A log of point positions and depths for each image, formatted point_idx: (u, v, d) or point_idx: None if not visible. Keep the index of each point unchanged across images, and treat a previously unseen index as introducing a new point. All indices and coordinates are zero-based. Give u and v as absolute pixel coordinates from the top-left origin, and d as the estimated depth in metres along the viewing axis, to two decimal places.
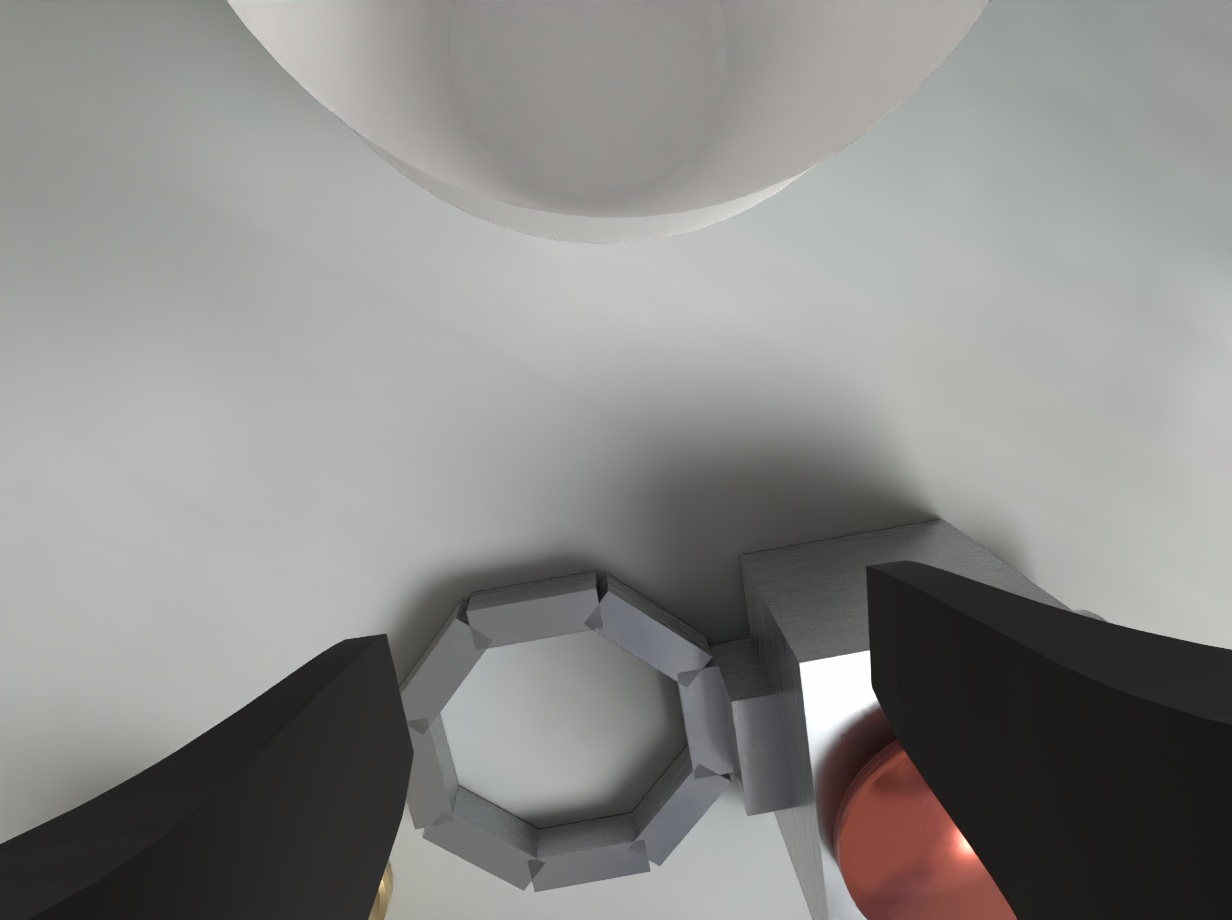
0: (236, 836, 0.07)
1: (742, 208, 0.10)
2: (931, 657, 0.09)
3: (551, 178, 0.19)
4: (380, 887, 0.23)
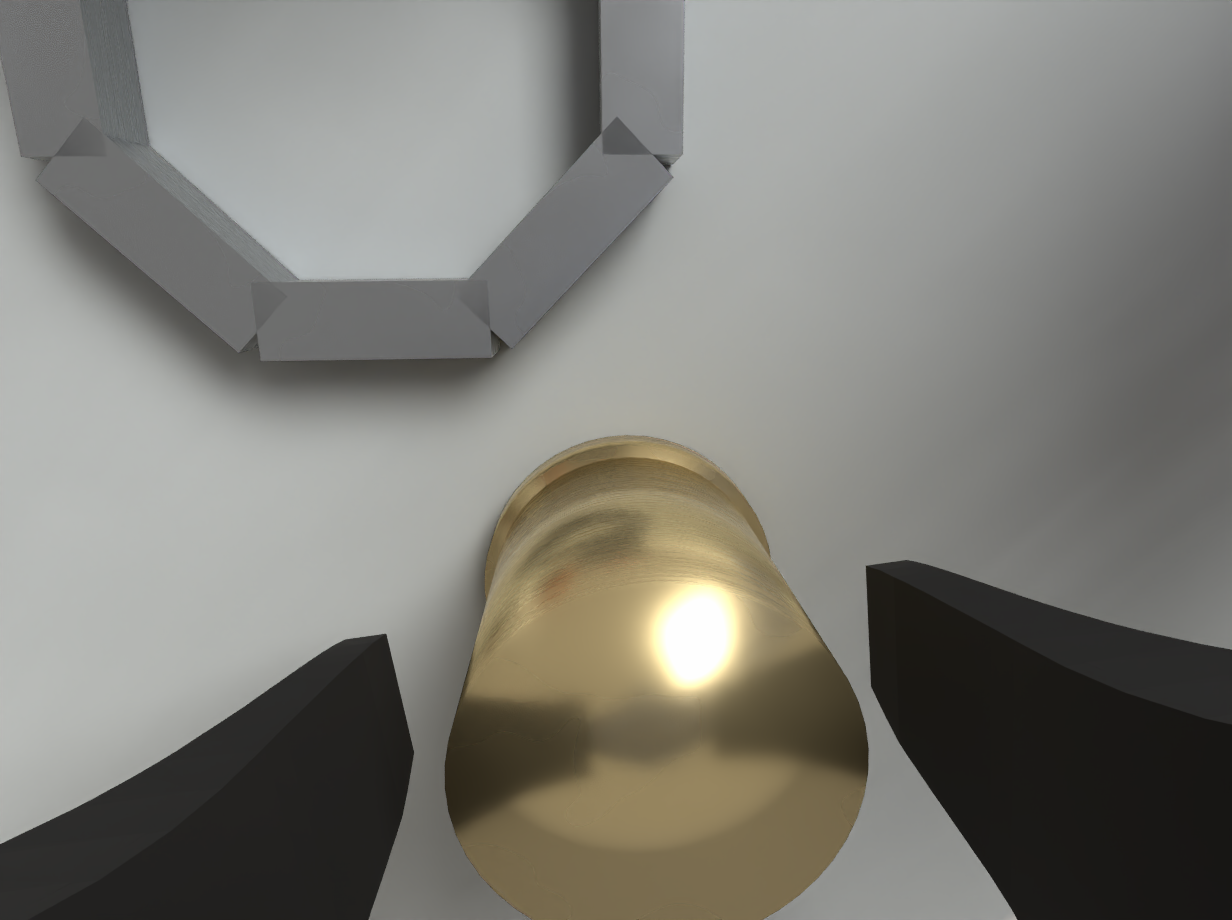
0: (236, 836, 0.07)
1: None
2: (931, 657, 0.09)
3: None
4: (632, 453, 0.13)
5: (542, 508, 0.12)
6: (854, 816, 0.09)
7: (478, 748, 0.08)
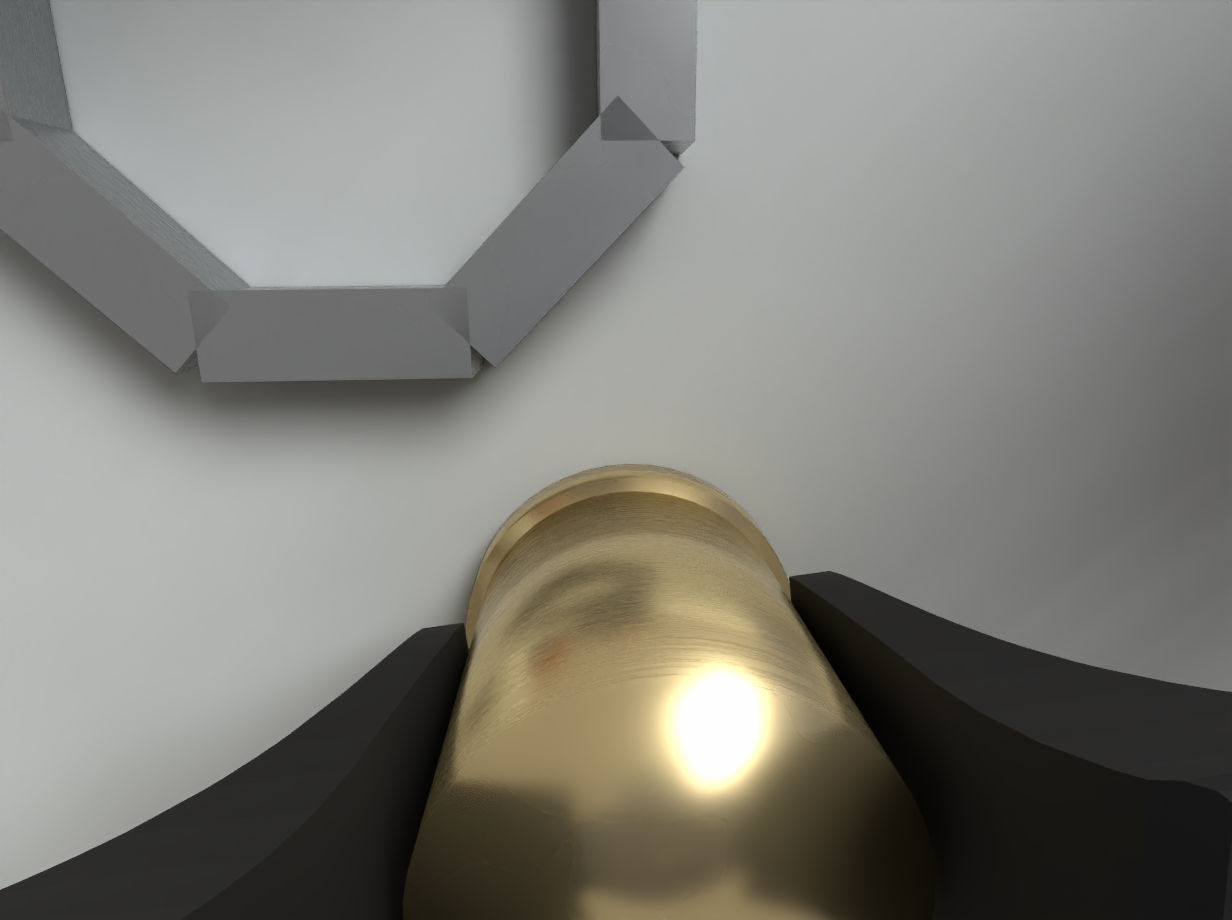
0: (363, 817, 0.07)
1: None
2: (840, 670, 0.09)
3: None
4: (635, 486, 0.11)
5: (530, 555, 0.10)
6: None
7: (445, 883, 0.06)
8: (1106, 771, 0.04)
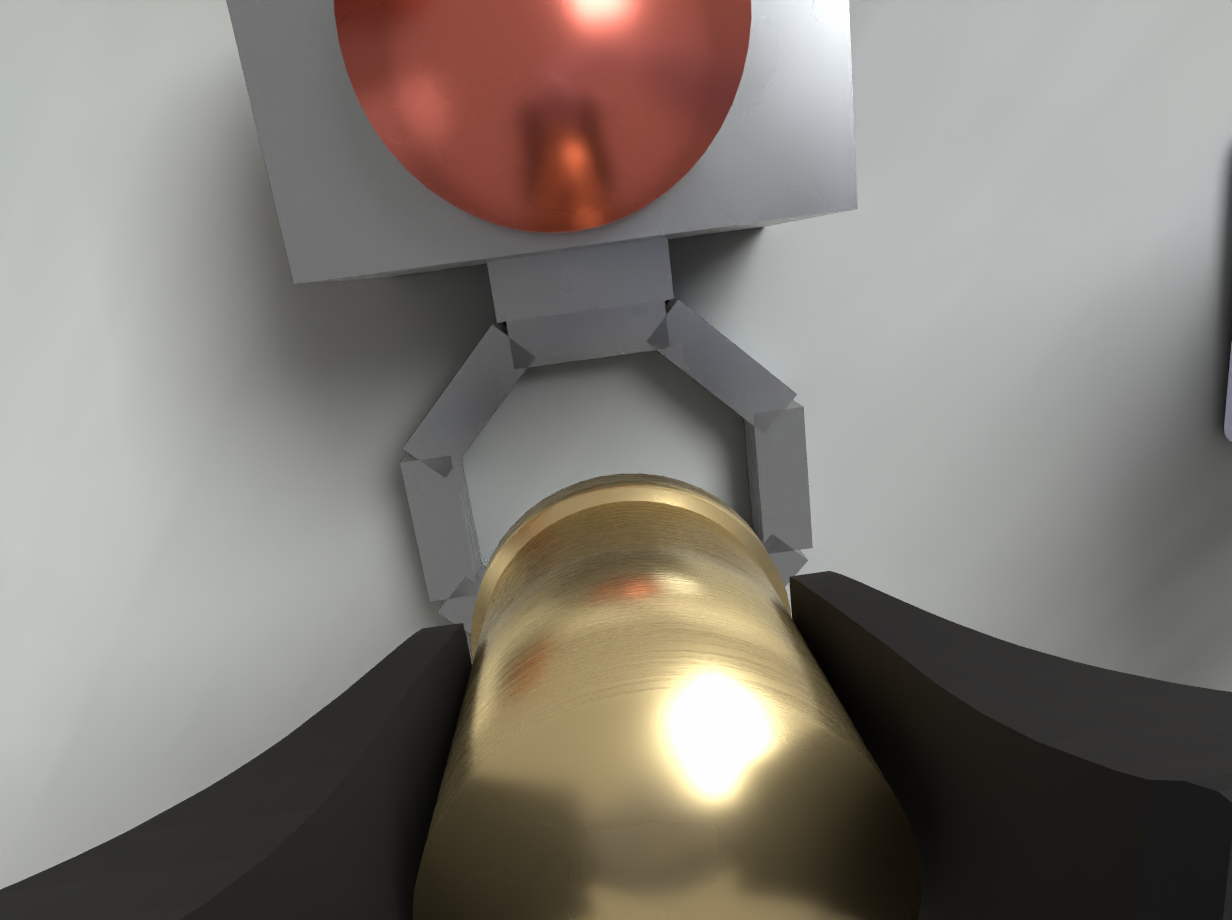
0: (363, 818, 0.07)
1: None
2: (840, 670, 0.09)
3: None
4: (628, 496, 0.11)
5: (527, 569, 0.10)
6: None
7: (451, 893, 0.07)
8: (1105, 772, 0.04)
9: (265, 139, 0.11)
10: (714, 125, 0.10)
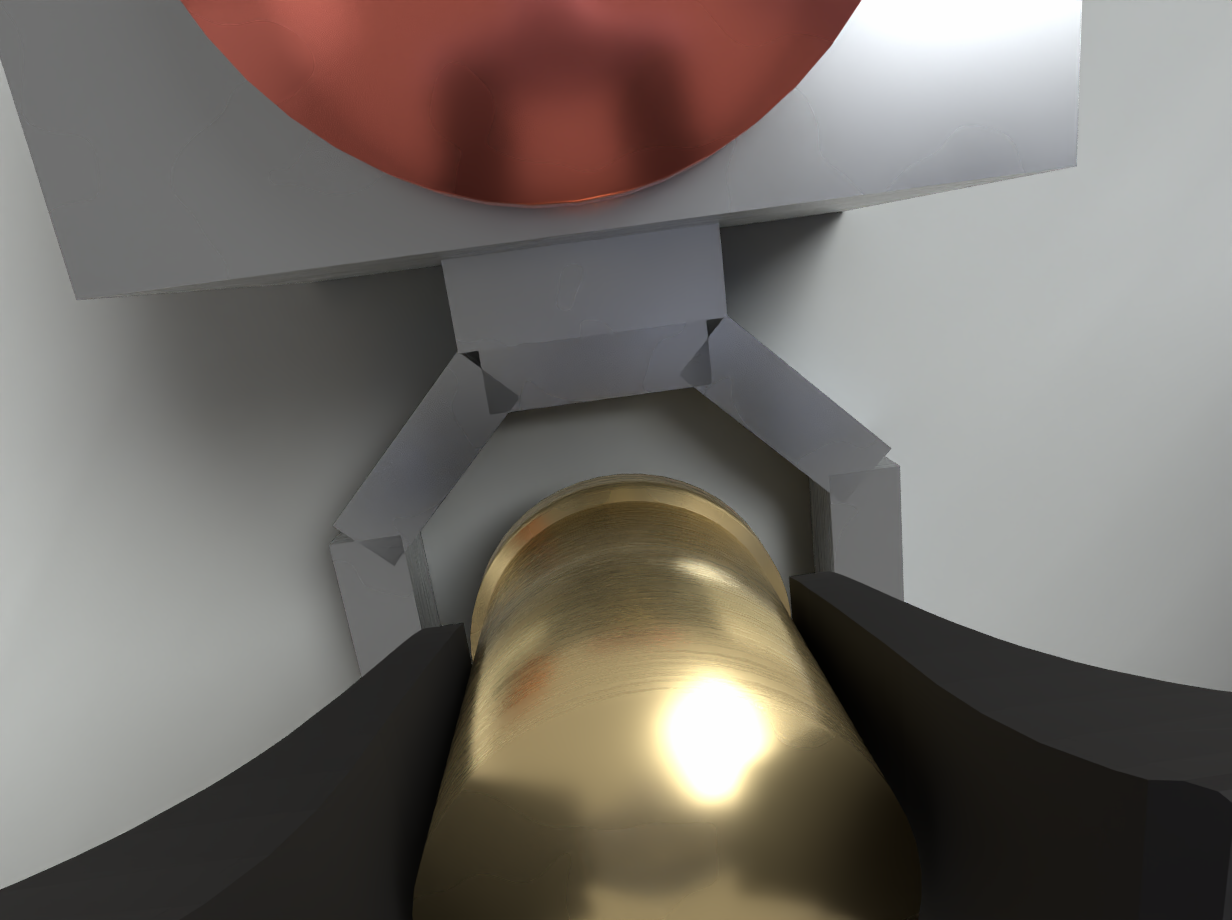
0: (363, 818, 0.07)
1: None
2: (840, 670, 0.09)
3: None
4: (628, 496, 0.11)
5: (527, 569, 0.10)
6: None
7: (451, 894, 0.07)
8: (1106, 771, 0.04)
9: (3, 33, 0.06)
10: None
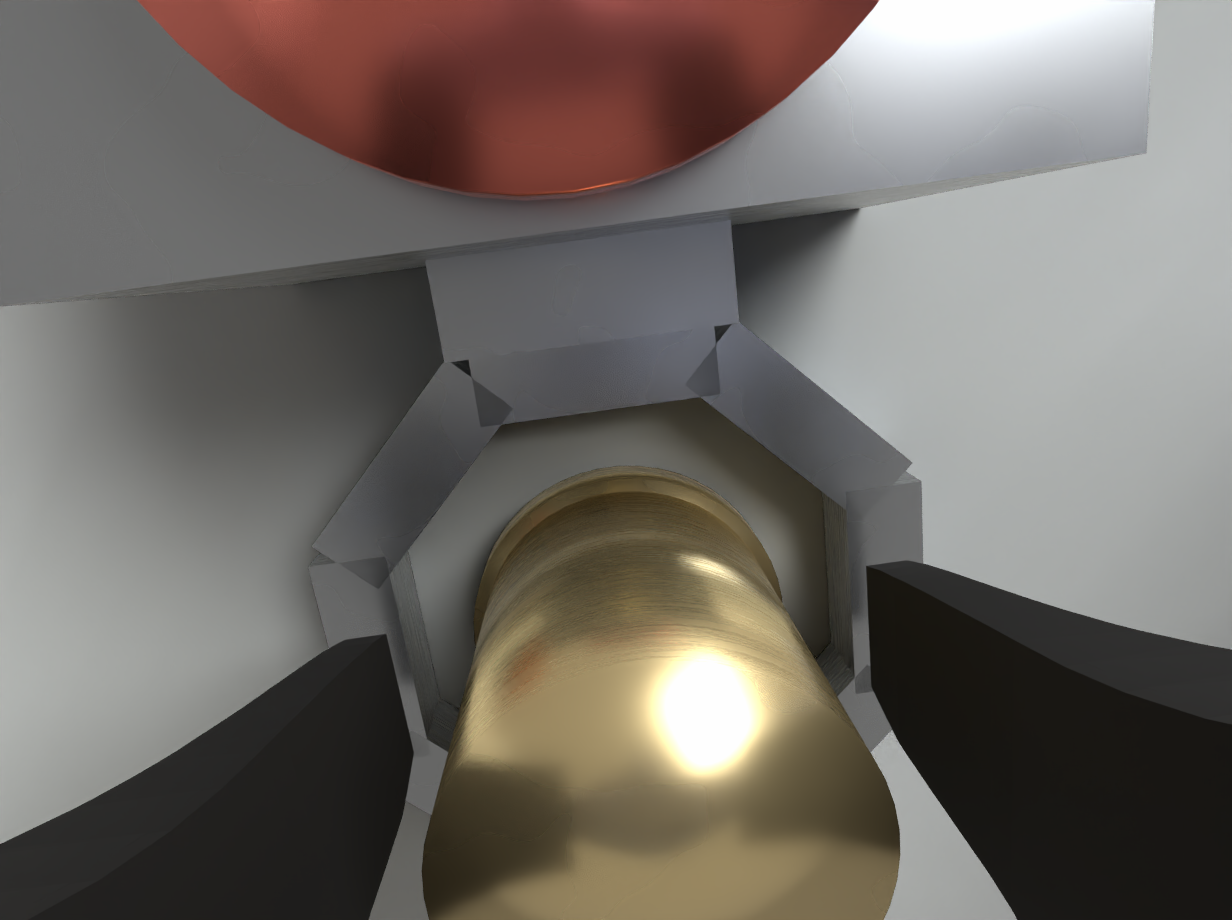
0: (236, 836, 0.07)
1: None
2: (931, 657, 0.09)
3: None
4: (625, 487, 0.12)
5: (528, 556, 0.11)
6: (887, 902, 0.08)
7: (458, 852, 0.07)
8: None
9: None
10: None
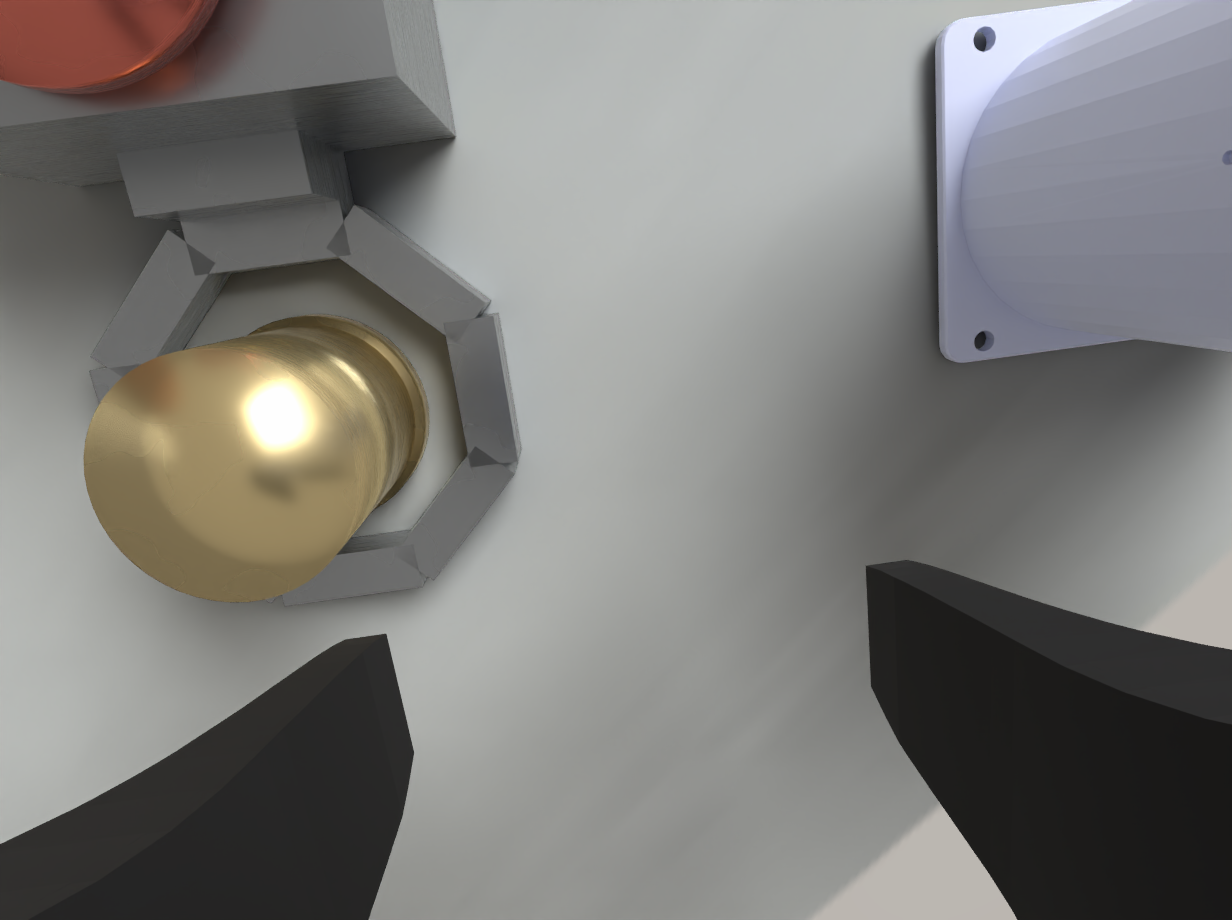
0: (236, 836, 0.07)
1: None
2: (931, 657, 0.09)
3: None
4: (304, 322, 0.18)
5: None
6: (356, 504, 0.14)
7: (103, 462, 0.13)
8: None
9: None
10: None
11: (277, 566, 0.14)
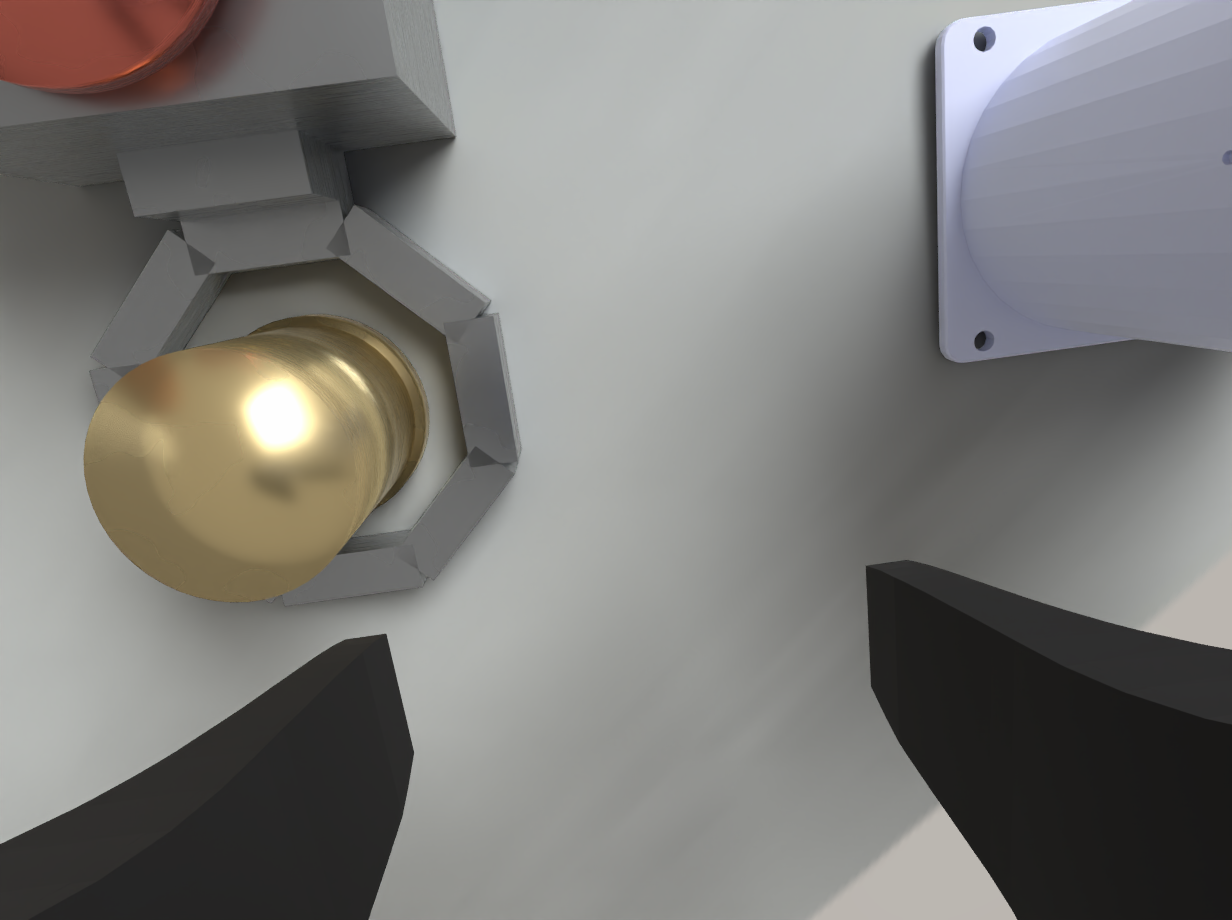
0: (236, 836, 0.07)
1: None
2: (931, 657, 0.09)
3: None
4: (304, 322, 0.18)
5: None
6: (356, 504, 0.14)
7: (103, 463, 0.13)
8: None
9: None
10: None
11: (277, 566, 0.14)
